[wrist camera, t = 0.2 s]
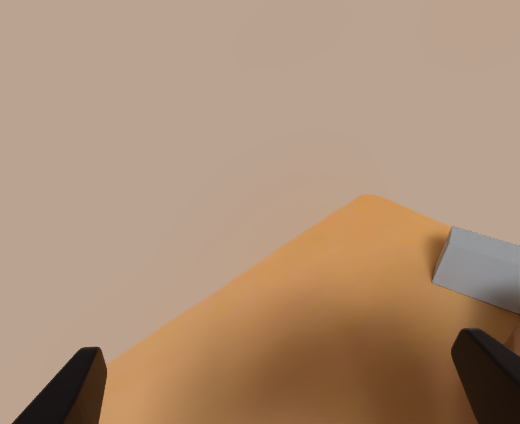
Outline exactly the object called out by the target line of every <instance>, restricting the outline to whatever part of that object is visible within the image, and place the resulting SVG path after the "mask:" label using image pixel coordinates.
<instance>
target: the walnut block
mask: <svg viewBox="0 0 520 424" xmlns="http://www.w3.org/2000/svg"><path fill="white" fill-rule="evenodd" d="M504 346H506V347H507V348H509V349H510V350H511V351H513V352H514V353H516V354H517V355H519V356H520V323H519V324H518V326H517V327H516V329H515V330H514V331H513V333H512V334H511V336H510V337H509V339H508V340H507V342H506V343H505V344H504Z"/></svg>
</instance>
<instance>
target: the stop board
mask: <svg viewBox="0 0 520 424" xmlns="http://www.w3.org/2000/svg"><path fill="white" fill-rule="evenodd" d="M432 283H434V284H436V285H439V286H442V287H445V288H448V289H450V290H453V291H456V292H459V293H461V294H464V295H467V296H470V297H473V298H475V299H478V300H481V301H484V302H486V303H489V304H492V305H495V306H498V307H500V308H503V309H506V310H509V311H511V312H514V313H517V314H520V246H519V245H515V244H512V243H509V242H505V241H502V240H498V239H495V238H492V237H488V236H485V235H481V234H478V233H475V232H472V231H468V230H465V229H461V228H458V227H455V226H452V228H451V230H450V233H449V235H448V237H447V239H446V242H445V244H444V246H443V249H442V251H441V253H440V256H439V258H438V260H437V263H436V265H435V270H434V275H433V279H432Z"/></svg>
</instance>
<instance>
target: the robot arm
mask: <svg viewBox="0 0 520 424" xmlns="http://www.w3.org/2000/svg"><path fill="white" fill-rule="evenodd" d="M451 355H452V359H453V362H454V364H455V367H456V369H457V372H458V375H459V377H460V380H461V382H462V385H463V387H464V390H465V393H466V395H467V398H468V400H469V403H470V405H471V408H472V410H473V413H474V415H475V417H476V420H477V422H478V424H520V356H519V355H517V354H516V353H514V352H513V351H511V350H510V349H509V348H507V347H506V346H504V345H503V344H501V343H500V342H498V341H497V340H496V339H494V338H493V337H491V336H490V335H488V334H487V333H485V332H484V331H483V330H481V329H478V328H464V329H462V330H461V331H460V332H459V334H458V336H457V338H456V340H455V342H454V344H453V346H452V348H451ZM106 378H107V367H106V364H105V360H104V357H103V354H102V350H101V349H100V348H99V347H84V348H81V349H80V350H78V352H77V353H76V354H75V355H74V356H73V357H72V358H71V359H70V360H69V361H68V362H67V364H66V365H65V366H64V367H63V368H62V369H61V370H60V371H59V372H58V373H57V374H56V376H55V377H54V378H53V379H52V380H51V381H50V382H49V383H48V384H47V385H46V387H45V388H44V389H43V390H42V391H41V392H40V393H39V395H37V396H36V398H35V399H34V400H33V401H32V402H31V403H30V404H29V405H28V406H27V407H26V409H25V410H24V411H23V412H22V413H21V414H20V415H19V416H18V418H16V420H15V421H14V422H13V423H12V424H99V418H100V412H101V407H102V401H103V396H104V390H105V384H106Z"/></svg>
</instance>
